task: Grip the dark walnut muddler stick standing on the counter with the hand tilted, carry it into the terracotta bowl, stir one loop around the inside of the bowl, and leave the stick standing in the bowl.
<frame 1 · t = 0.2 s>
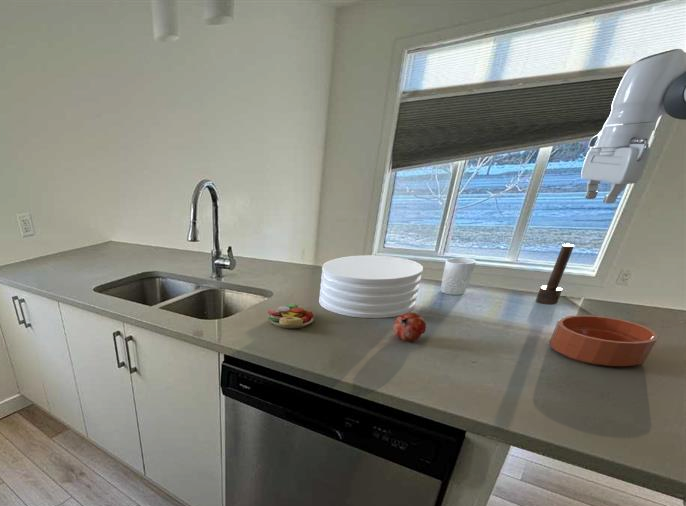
hand: (598, 200, 103), 27 cm above the worktop, tool pointing down, fingers open, 8 cm apart
bowl: (593, 353, 91), on the worktop
pomegranate: (406, 339, 104), on the worktop
white cup: (452, 292, 131), on the worktop
plate stack: (364, 302, 129), on the worktop
toy food set: (289, 322, 121), on the worktop
muddler: (546, 301, 118), on the worktop
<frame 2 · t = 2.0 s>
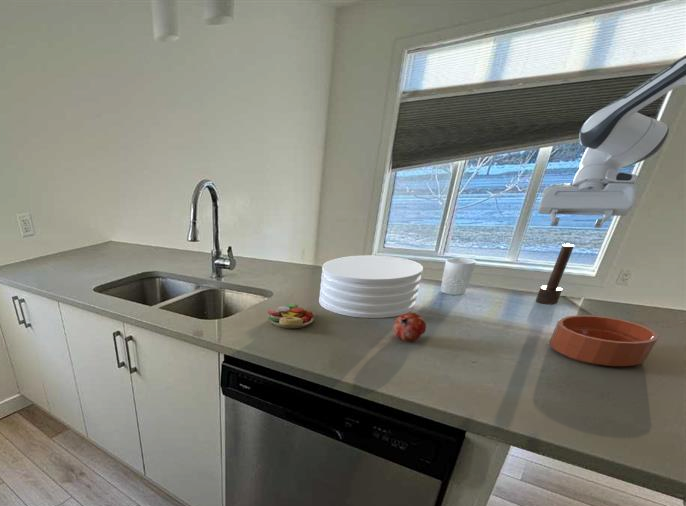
hand: (575, 225, 116), 19 cm above the worktop, tool tilted 45°, fingers open, 8 cm apart
nothing on the worktop moved.
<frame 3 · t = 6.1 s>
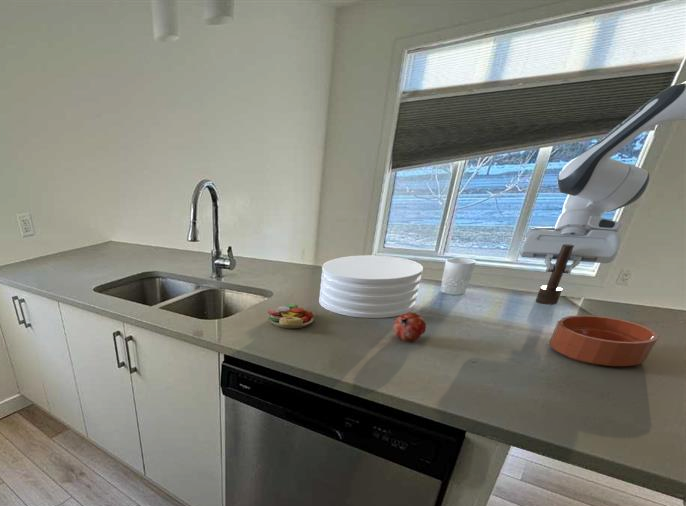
hand: (558, 271, 113), 9 cm above the worktop, tool tilted 45°, fingers closed on muddler, 2 cm apart
muddler: (546, 301, 118), on the worktop, touching gripper
everything else where it was.
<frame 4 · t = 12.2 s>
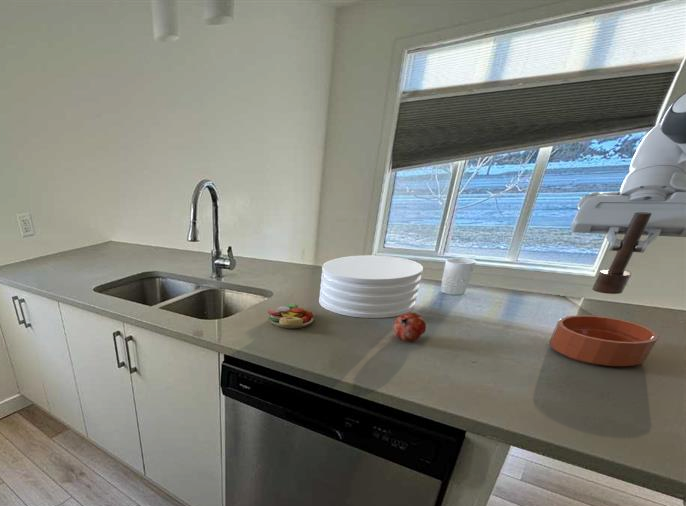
hand: (626, 250, 84), 21 cm above the worktop, tool tilted 45°, fingers closed on muddler, 2 cm apart
muddler: (607, 290, 89), point 12 cm above the worktop, touching gripper
everything else where it was.
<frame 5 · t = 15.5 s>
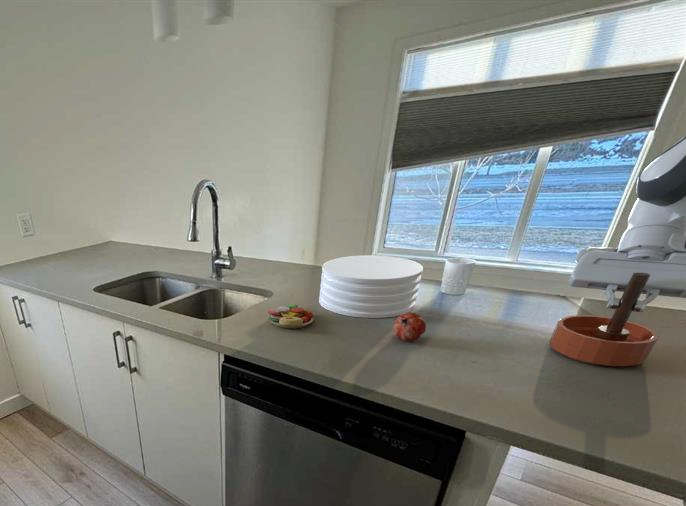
hand: (625, 309, 83), 11 cm above the worktop, tool tilted 45°, fingers closed on muddler, 2 cm apart
muddler: (605, 346, 88), point 2 cm above the worktop, touching gripper
everything else where it was.
when the fingers open (10 cm above the worktop, at t = 18.1 s): muddler stays where it is, resting on bowl.
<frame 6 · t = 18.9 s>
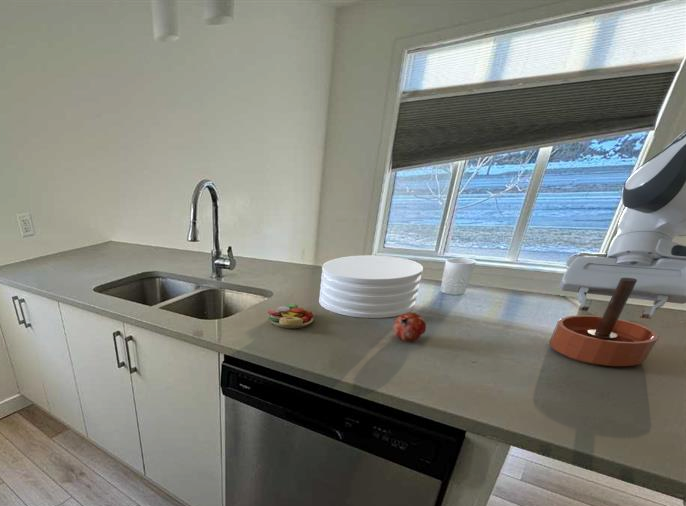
hand: (613, 313, 85), 10 cm above the worktop, tool tilted 45°, fingers open, 8 cm apart
muddler: (594, 349, 90), point 1 cm above the worktop, touching bowl
everything else where it was.
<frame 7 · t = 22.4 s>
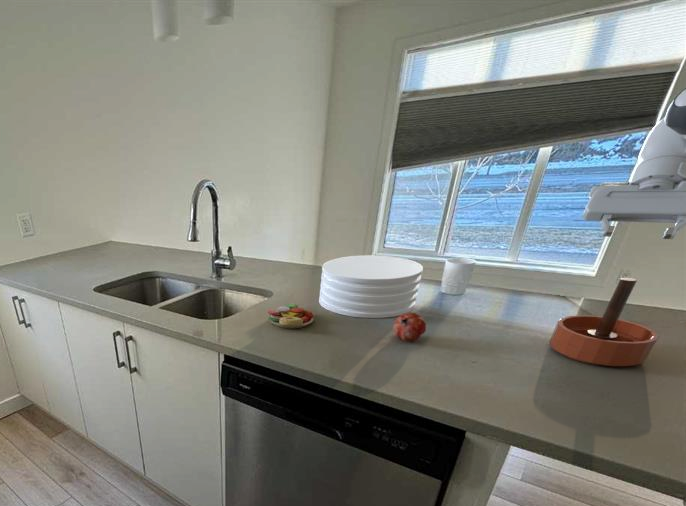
hand: (636, 236, 89), 22 cm above the worktop, tool tilted 45°, fingers open, 8 cm apart
nothing on the worktop moved.
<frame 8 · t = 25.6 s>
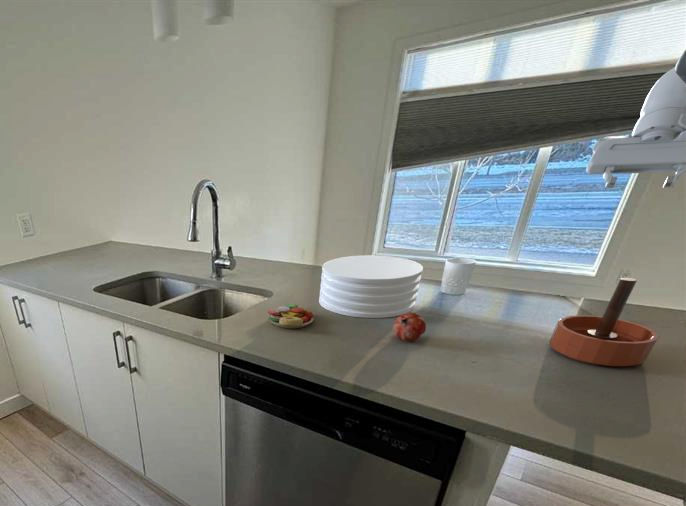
hand: (638, 185, 92), 31 cm above the worktop, tool tilted 45°, fingers open, 8 cm apart
nothing on the worktop moved.
at the end: muddler inside the target area in the bowl (0.1 cm from its centre), point 0.8 cm above the bowl's base; muddler moved 35.3 cm from its start; the gripper is holding nothing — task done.
